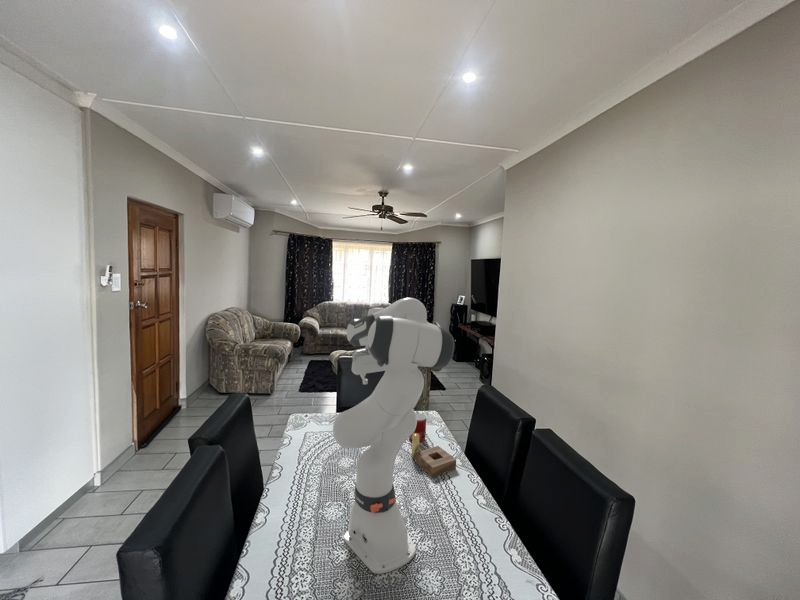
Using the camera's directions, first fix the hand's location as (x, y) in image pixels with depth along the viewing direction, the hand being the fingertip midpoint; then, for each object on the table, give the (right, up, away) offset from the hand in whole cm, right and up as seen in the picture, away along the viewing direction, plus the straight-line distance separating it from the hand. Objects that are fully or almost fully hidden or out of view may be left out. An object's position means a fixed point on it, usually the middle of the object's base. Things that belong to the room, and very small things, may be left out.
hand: (375, 382), depth 131 cm
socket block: (+24, -36, +5) cm, 44 cm away
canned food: (+18, -34, +27) cm, 47 cm away
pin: (+16, -35, +11) cm, 40 cm away
